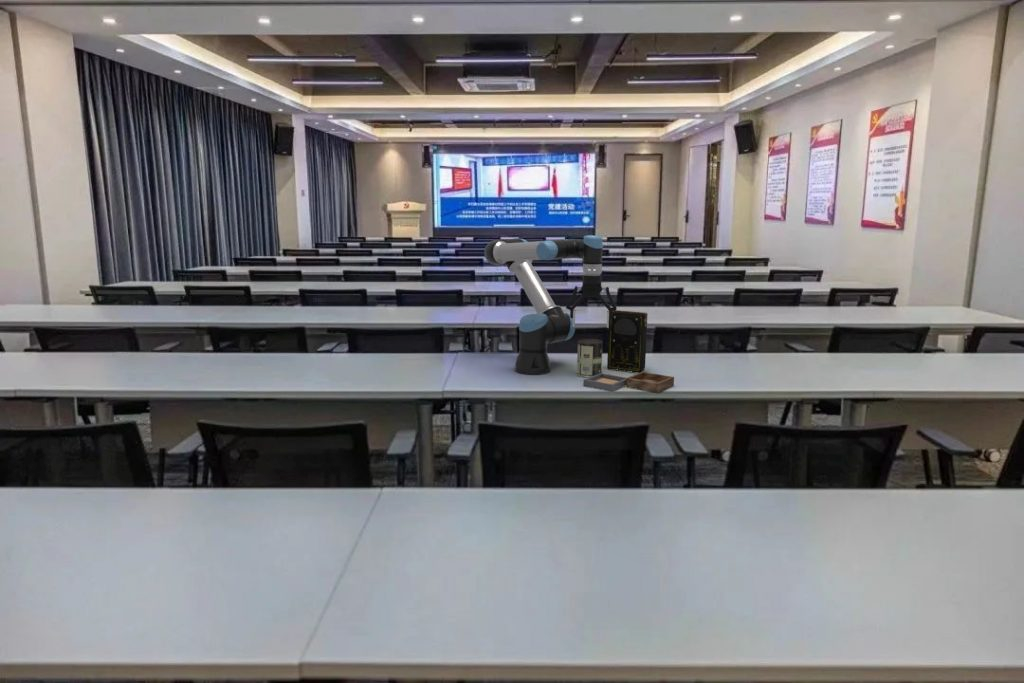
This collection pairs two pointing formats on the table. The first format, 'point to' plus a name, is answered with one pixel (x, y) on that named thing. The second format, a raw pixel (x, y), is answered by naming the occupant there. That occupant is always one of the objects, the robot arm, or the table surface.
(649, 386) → the walnut tray
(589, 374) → the coffee can
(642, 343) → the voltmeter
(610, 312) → the robot arm
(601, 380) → the checker cradle
